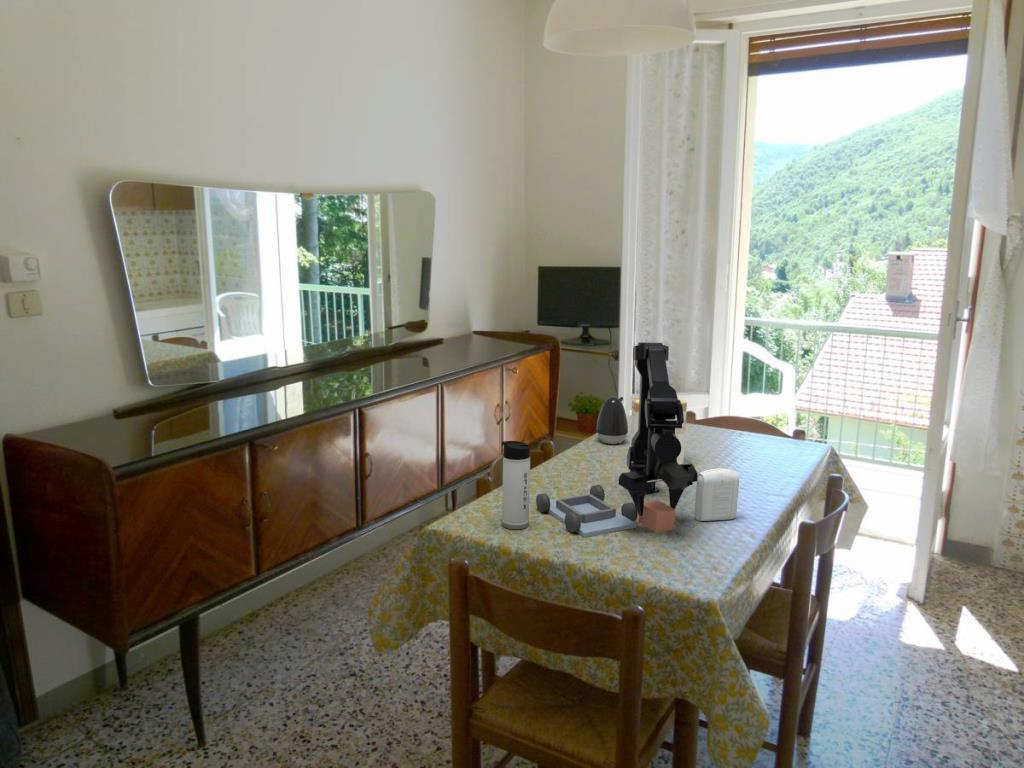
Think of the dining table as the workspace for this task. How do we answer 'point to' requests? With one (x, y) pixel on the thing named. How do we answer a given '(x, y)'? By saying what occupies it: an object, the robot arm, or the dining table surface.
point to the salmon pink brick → (657, 516)
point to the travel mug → (516, 485)
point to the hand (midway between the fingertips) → (656, 512)
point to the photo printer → (716, 495)
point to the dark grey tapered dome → (612, 421)
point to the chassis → (588, 513)
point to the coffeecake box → (678, 431)
